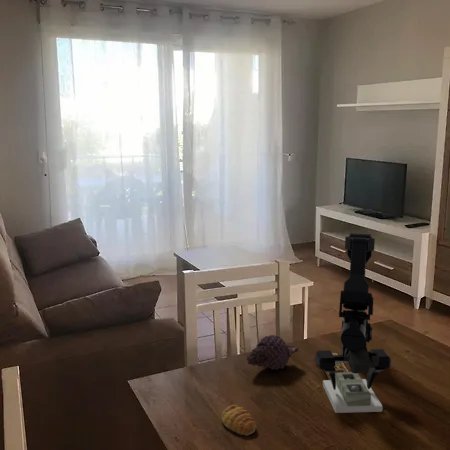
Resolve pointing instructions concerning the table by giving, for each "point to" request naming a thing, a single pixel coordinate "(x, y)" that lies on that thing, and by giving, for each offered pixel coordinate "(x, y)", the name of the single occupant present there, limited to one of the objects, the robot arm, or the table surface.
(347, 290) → the robot arm
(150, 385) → the table surface
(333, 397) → the post board
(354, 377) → the bar
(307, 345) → the table surface
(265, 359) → the pine cone
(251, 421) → the pastry
